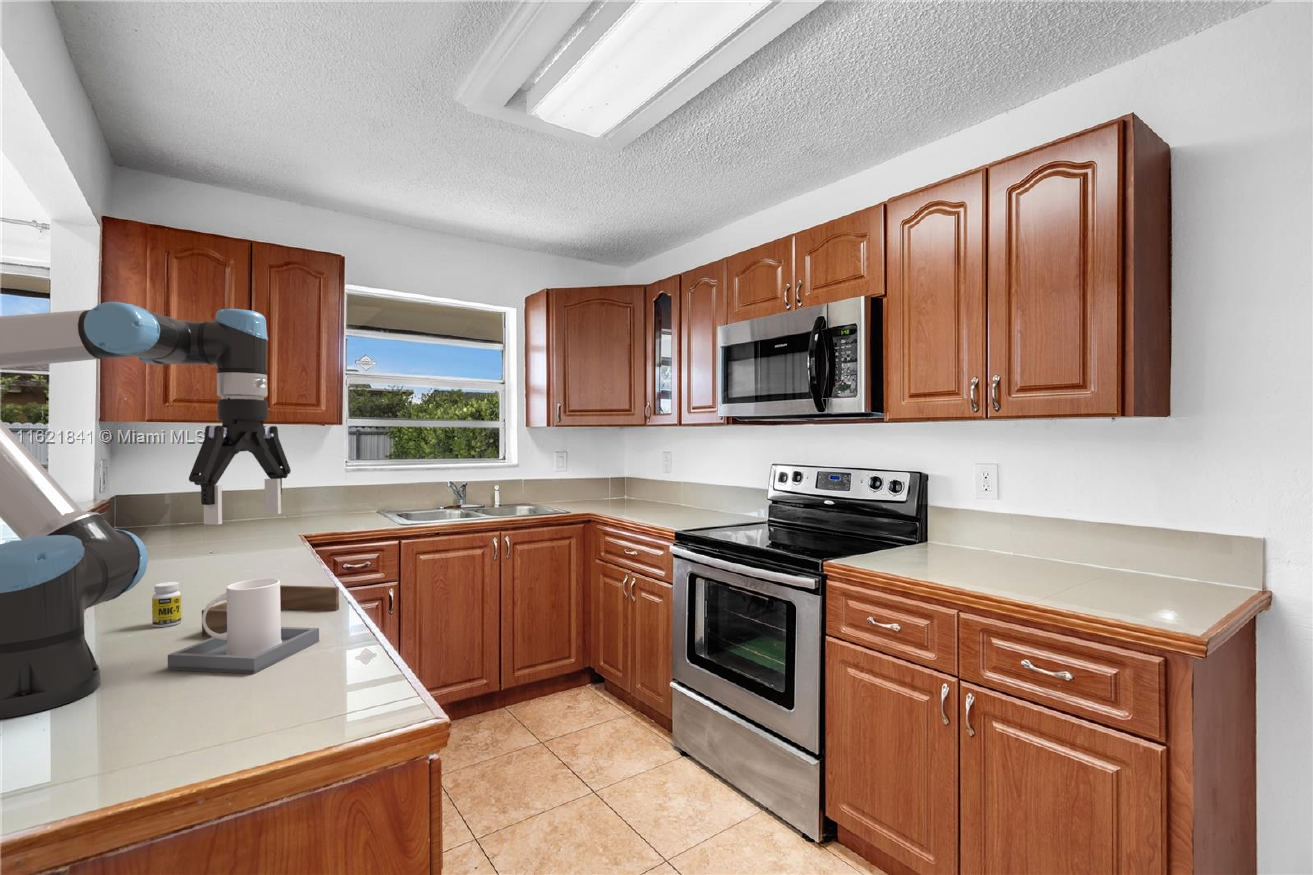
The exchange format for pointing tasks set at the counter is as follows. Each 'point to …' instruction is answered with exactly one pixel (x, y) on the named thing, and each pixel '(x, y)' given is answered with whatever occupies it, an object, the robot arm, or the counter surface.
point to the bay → (281, 604)
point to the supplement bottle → (166, 605)
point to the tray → (214, 656)
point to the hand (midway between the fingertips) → (244, 518)
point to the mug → (250, 616)
